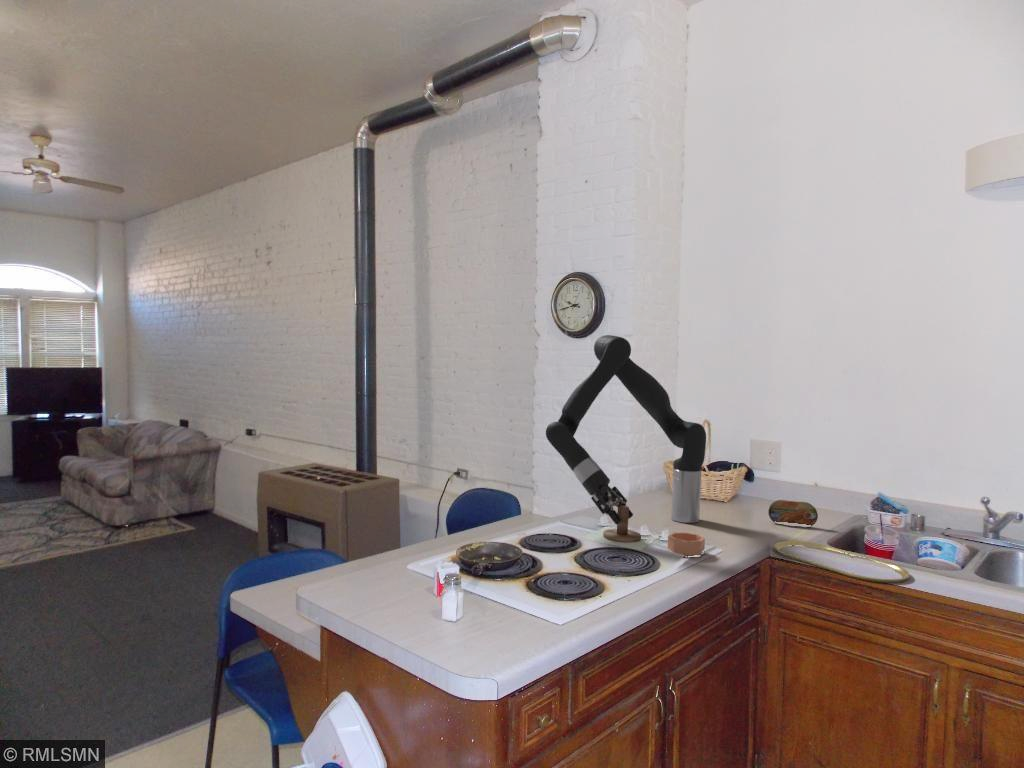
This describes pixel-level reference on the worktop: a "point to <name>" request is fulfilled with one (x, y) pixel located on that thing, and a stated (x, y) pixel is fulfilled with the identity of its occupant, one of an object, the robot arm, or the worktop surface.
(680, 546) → the terracotta bowl
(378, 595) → the worktop surface
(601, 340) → the robot arm
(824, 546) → the serving platter
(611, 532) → the walnut lid
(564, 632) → the worktop surface
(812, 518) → the tin
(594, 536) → the sage mat
